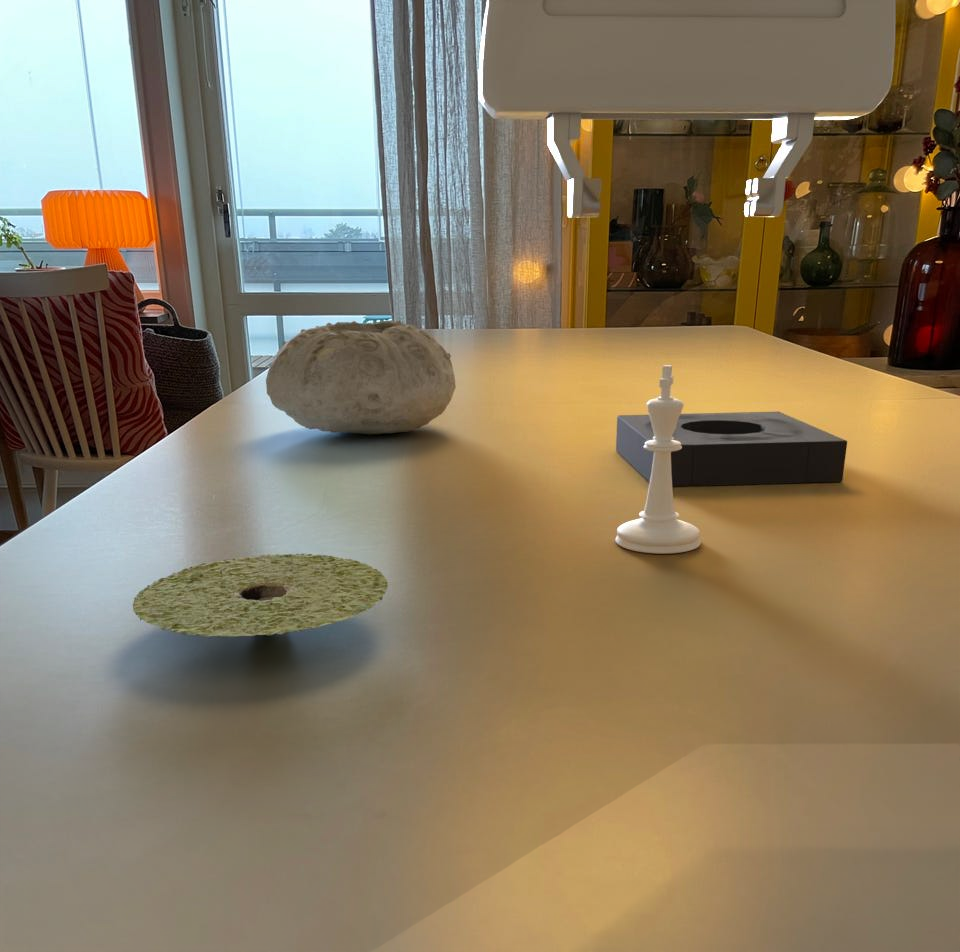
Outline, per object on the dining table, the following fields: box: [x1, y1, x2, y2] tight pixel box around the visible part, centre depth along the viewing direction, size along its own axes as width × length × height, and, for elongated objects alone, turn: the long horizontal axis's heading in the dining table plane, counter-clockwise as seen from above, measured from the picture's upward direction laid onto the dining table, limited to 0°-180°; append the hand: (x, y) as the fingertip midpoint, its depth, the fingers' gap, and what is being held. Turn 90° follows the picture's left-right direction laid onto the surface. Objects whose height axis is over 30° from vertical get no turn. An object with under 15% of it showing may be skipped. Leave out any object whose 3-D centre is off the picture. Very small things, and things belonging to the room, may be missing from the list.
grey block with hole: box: [615, 411, 848, 488], centre depth 76 cm, size 14×14×3 cm
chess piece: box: [614, 364, 702, 555], centre depth 55 cm, size 5×5×10 cm
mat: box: [132, 553, 389, 638], centre depth 44 cm, size 11×11×2 cm
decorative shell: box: [265, 320, 456, 435], centre depth 92 cm, size 18×18×10 cm
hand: (673, 217), depth 50 cm, fingers open, 8 cm apart
